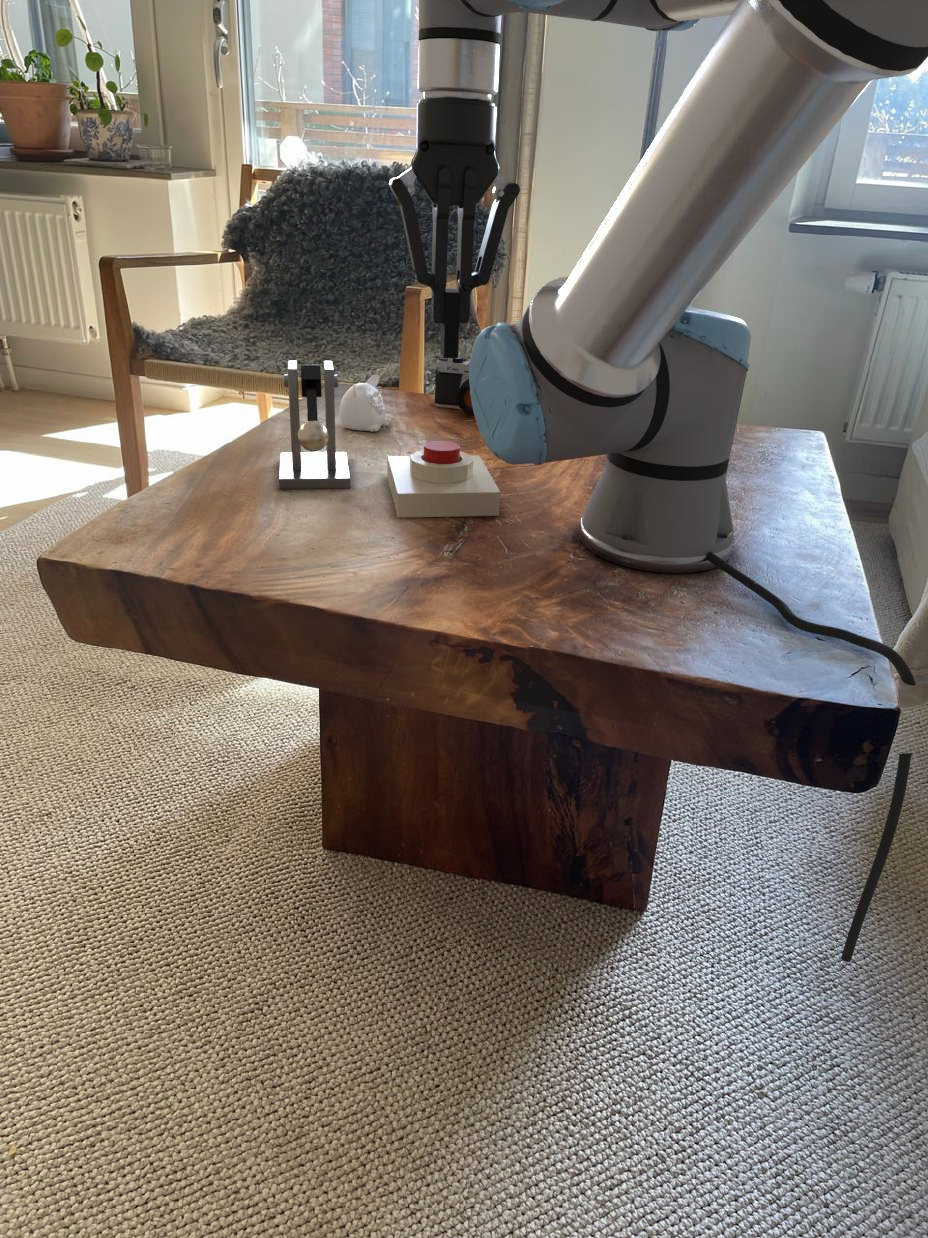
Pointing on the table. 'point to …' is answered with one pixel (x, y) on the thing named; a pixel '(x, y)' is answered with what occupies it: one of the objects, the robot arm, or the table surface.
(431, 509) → the control block
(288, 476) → the grey metal frame
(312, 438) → the lever
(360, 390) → the figurine
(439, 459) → the stop button
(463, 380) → the camera
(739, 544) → the table surface
